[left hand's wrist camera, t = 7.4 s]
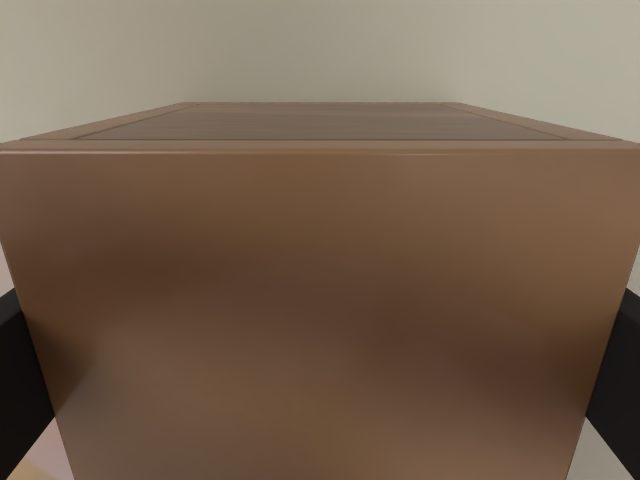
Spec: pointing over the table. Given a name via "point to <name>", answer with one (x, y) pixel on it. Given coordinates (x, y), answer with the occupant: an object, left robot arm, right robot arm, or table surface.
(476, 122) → the cabinet
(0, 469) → the left robot arm
